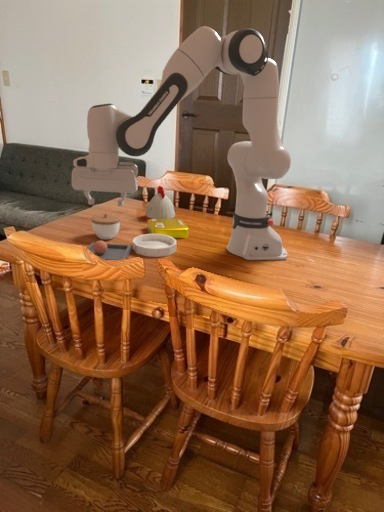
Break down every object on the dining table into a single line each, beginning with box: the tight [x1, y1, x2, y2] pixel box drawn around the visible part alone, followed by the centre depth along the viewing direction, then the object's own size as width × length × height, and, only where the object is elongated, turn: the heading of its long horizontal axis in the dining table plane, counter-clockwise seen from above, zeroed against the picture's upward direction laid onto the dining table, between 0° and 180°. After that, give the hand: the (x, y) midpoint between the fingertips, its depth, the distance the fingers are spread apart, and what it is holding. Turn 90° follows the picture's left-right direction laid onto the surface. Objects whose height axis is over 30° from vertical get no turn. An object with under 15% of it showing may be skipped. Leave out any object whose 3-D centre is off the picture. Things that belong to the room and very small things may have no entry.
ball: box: [93, 240, 107, 254], centre depth 118 cm, size 5×5×5 cm
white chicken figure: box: [145, 185, 176, 221], centre depth 161 cm, size 14×14×15 cm
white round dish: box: [132, 233, 177, 258], centre depth 128 cm, size 16×16×3 cm
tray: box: [87, 241, 133, 260], centre depth 119 cm, size 14×14×2 cm
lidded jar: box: [90, 213, 121, 241], centre depth 135 cm, size 11×11×9 cm
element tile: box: [146, 217, 190, 240], centre depth 145 cm, size 15×15×5 cm
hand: (106, 205), depth 112 cm, fingers open, 8 cm apart
